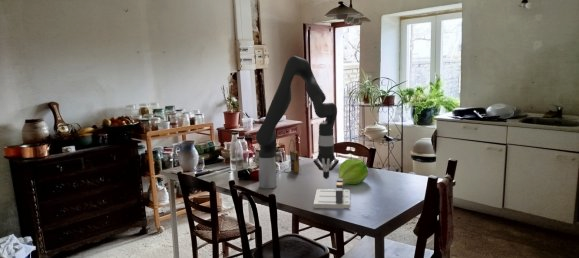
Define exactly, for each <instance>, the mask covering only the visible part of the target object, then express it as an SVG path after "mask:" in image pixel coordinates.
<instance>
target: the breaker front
mask: <svg viewBox="0 0 579 258" xmlns="http://www.w3.org/2000/svg"><path fill="white" fill-rule="evenodd" d="M335 189H336V203H342V188H335Z"/></svg>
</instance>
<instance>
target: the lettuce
mask: <svg viewBox="0 0 579 258" xmlns="http://www.w3.org/2000/svg"><path fill="white" fill-rule="evenodd" d="M368 175H369V171H368V166H367V164H366V163H365V162H364V161H363V160H361V159H359V158H348V159H345V160H344V161H343V162H341V163H340V164H339V168H338V177H337V178H343V184H347V185H348V184H349V185H356V184H357V185H358V184H360V183H362V182H363V181H365V179H367V176H368Z"/></svg>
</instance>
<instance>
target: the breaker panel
mask: <svg viewBox="0 0 579 258" xmlns="http://www.w3.org/2000/svg"><path fill="white" fill-rule="evenodd" d="M350 191H351V190H350V189H343V197H342V203H336V188H335V189H332V188H331V189H328V188H326V189H325V188H320V189H319V188H317V189H316V192H315V197H314V201H313V208H314V209H344V208H351V197H350V196H351V195H350V193H351V192H350Z"/></svg>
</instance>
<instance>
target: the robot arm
mask: <svg viewBox="0 0 579 258" xmlns="http://www.w3.org/2000/svg"><path fill="white" fill-rule="evenodd" d="M281 76H282V77H281V79H280V81H279V84H278V87H277V89H276V91H275V94H274V95H273V97H272V100H271V102H270V105H269V108H268V109H267V112H266V115H265V118H264V119H263V121H262V124H261V125H260V127H259V128H258V131H257V133H256V136H255V139H256V142H257V144H258V145H259V146H260V149H259V150H258V162H259V163H258V166H259V169H258V186H259V187H258V188H260V189H268V190H269V189H273V188H276V187H277V185H278V184H277V181H278V180H277V162H276V161H277V159H276V152H277V132H276V131H275V130H276V128H277V126H278V124H279V123H280V121H281V120H282V118H283V117H284V115H285V114H286V112H287V111H288V108H289V106H290V104H291V101H292V88H291V87H292V82H293V81H294V77H295V76H298V77H300V78H301V79H302V80H303V81H304V82H305V90H306V94H307V96H308V97H309V99H310V101H311V103H312V106H313V110H314V113H315V116H316V117H317V118H320V119H325V120H324V121H322V122H320V123H319V124H318V140H317V141H318V144H317V145H318V148H317V150H318V154H317V156H316V158H314V159H313V163H314V165H315V166H316V167H317V168H318V170H320V171H322V175H323V176H322V177H323V178H324V180H327V179H329V177H330V172H332V171H333V170H334V169H335V168H336V166H337V165H338V164H339V162H340V160H339V159H336V156H335V138H334V127H335V121H336V118H337V116H338V107H337V105H336V104H335V102H325V101H326V99H327V97H326V94H325V93H324V91H323V90H322V87H320V85H319V83H318V82H317V80H316V77H315V74H314V72H313V70H312V68H311V65H310V63H309V61H308V60H307V59H305V58H302V57H299V56H297V55H292V56H290V57H289V58H288V60H287V62H286V63H285V66H284V69H283V73H282V75H281ZM332 163H333V164H332ZM331 164H332V165H331ZM330 165H331V166H330Z"/></svg>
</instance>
